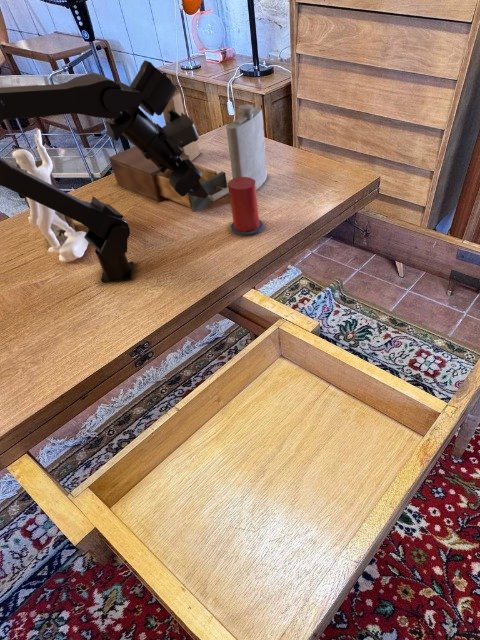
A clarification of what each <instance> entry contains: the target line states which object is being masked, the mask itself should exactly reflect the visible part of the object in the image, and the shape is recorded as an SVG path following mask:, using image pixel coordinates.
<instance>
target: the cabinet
mask: <svg viewBox="0 0 480 640" xmlns="http://www.w3.org/2000/svg"><path fill="white" fill-rule="evenodd" d="M180 158H181V159H182V161H183V160H190V159H189V155H186V154H183V153H182V154H181V155H180ZM108 159H109V162H110V165H111V168H112V172H113V175H114V178H115V180H116V184H117V186H119V187H121V188H123V189H127V190H129V191H130V192H131V191H132V192H134V193H137V194H138V195H141V196H143V197H146V198H148V199H150V200H153V201H156V202H158V203H159V202H162V201H163V200H165V199H167V198H166V197H163V196H161V195H159V192H158V189H157V185H156V181H155V177H154V175H156V174H158V173H160V172H161V171H160V170H159V169H158V167H157V165H155V164H154V163H153V162H152V161H151V160H150V159H149V160H148V159H147V158H146V157H144V155H143V154H142V152H141V151H140V150H139V149H138V148H137V147H136V146H132V147H130V148H127V149H125V150H123V151H121V152H118V153H115V154H114V155H111V156H109V157H108Z"/></svg>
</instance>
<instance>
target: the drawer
mask: <svg viewBox="0 0 480 640" xmlns="http://www.w3.org/2000/svg"><path fill="white" fill-rule="evenodd" d="M193 164H194V165H195V166H196V167H197V168H198V169H199V171H200V172H201V173H202V176H201V178H200V179H199V181H200V183H201V185H202V186H203V188H204V189H205V191H206V192H207V194H208V196H207V197H206V198H201V197H196V196H191V195H185V196H182V197H181V196H180V195H179V194H178V193H177V192H176V191H175V190H174V189H173V187H172V186H171V185H170V183H169V176H170V175H171V173H172V172H173V171H172V170H170V169H167V170H166V171H165V172H164V173H162V172H160V173H158V174H156V175H154V177H155V181H156V185H157V189H158V192H159V195H161V196H163V197H166V198H165V199H168V200H170V201H173V202H176V203H178V204H181V205H183V206H186V207H188V208H191V210H192V212H194V213H198V212H200V211H201V210H203V209H205V208H206V207H209V206H210V205H212V204H214V203H216V202H218V201H219V200H220V199H223V198H225V197H227V196H229V188H228V181H227V173H226V172H225V171H220V172H217V171H216V170H213V169H209V168H207V167H204V166H202V165H198V164H195V163H193Z"/></svg>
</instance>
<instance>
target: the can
mask: <svg viewBox="0 0 480 640" xmlns="http://www.w3.org/2000/svg"><path fill="white" fill-rule="evenodd" d="M227 188H229V193H228V196H229V200H230V208H231V216H232V223H234V228H235V229H236V230H238V231H241V232H250V231H254V230H256V229H257V228H258V227H259V220H260V215H259V204H258V193H257V190H256V182H255V180H254V179H252V178H249V177H238V178H234V179H233V178H232V179H230V180H229V181H227Z"/></svg>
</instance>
